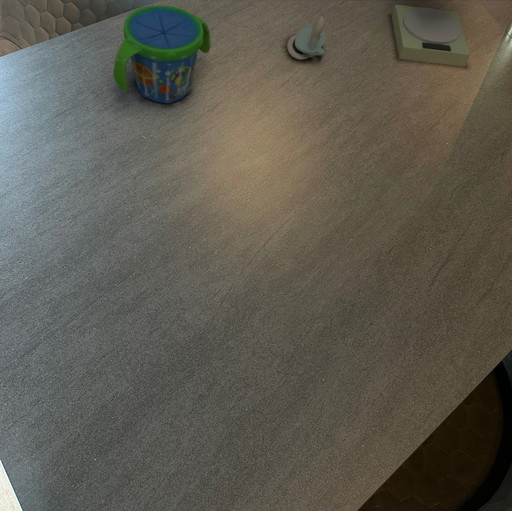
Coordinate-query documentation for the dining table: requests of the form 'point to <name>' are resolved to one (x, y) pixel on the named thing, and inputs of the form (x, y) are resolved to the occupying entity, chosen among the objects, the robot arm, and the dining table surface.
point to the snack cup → (161, 51)
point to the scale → (429, 35)
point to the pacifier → (308, 40)
